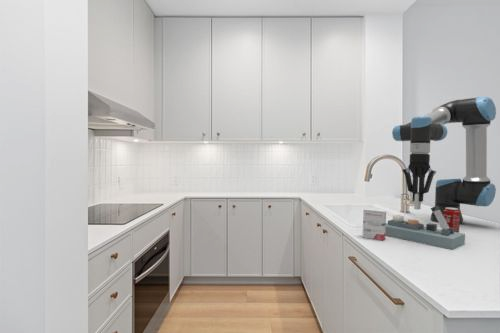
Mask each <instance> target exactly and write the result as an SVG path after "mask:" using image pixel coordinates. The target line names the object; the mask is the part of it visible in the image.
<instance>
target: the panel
mask: <svg viewBox="0 0 500 333" xmlns="http://www.w3.org/2000/svg"><path fill="white" fill-rule="evenodd" d="M407 221H408V220H404V222H403V223H399V222H393V219H390V220H387V222H386V232H385V237H392V238H396V239H400V240H405V241H410V242H415V243H420V244H422V245H424V244H425V245H429V246H434V247H438V248H443V249H448V250H454V249H456V248H458V247H461V246H462V245H465V243H466V242H465V240H466V239H465V238H466V233H462V232H459V233H458V232H454V228H449V229H451V230H452V232H451V233H449V230H448V229H447V230H445V229H442V228H441V229H440V228H437V230H436V231H430V230H426V226H425V224H424V223H420V222H419V225H417V226H416V225H410V224H407Z"/></svg>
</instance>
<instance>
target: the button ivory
mask: <svg viewBox="0 0 500 333" xmlns="http://www.w3.org/2000/svg"><path fill="white" fill-rule="evenodd" d="M404 218H405V216H404V215H401V214H400V215H398V214H396V215H395V214H394V215H392V220H393V222H399V223H403V222H404V221H405V220H404Z"/></svg>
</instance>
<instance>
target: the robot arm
mask: <svg viewBox="0 0 500 333" xmlns="http://www.w3.org/2000/svg"><path fill="white" fill-rule="evenodd" d="M496 115H497V109H496V105H495V103H494V100H493V99H492V98H490V97H488V96H477V97H471V98H464V99H455V100H451V101H449V102H445V103H444V104H441V105H439V106H437V107H435V108H434V109H433V110H432V111H431V112H429V113H427V114H424V115H422V116H421V115H419V116H413V117H412V118H411V120H410V122H408V123H406V124H399V125H395V126H394V127H393V128H392V132H391V133H392V134H391V135H392V138H393V140H394V141H396V142H410V145H409V146H410V147H409V153H410V154H409V165H408V167H406V168H404V169H402V172H403V174H404V177H405V181H406V186H407V191H408V192H409V193H412V201H413V203H414V204H413V206H414V207H413V209H414V210H421V208H422V206H421V204H422V202H423V201H424V195H425V194H427V193H429V191H430V188H431V185H432V182H433V180H434V176H435V175H436V173H437V171H436V170H434V169H433V168H431V165H430V162H431V161H430V160H431V159H430V158H431V155H430V154H429V153H431V141H434V142H439V141H442V140H444V139H445V138H446V137H447V136H448V128H447V126H445V125H447V124H452V123H453V124H454V123H455V124H456V123H457V124H458V123H461V124H462V126H461V127H463V128H464V129H465V177H463V178H462V179H461V178H448V179H437V181H436V182H435V188H434V189H435V192H434V193H435V195H434V196H435V198H434V207H435V206H439V208H440V211H441V213H442V215H443V211H444V210H445V208H446V207H450V208H457V209H458V210H459V212H460V222H459V225H460V224H463V223H464V217H463V214H462V211H461V204H462V205H469V206H475V207H485V208H486V207H489V206H490V205H492V203H493V201H494V199H495V196H496V191H497V190H496V189H497V188H496V186H495V184H494V183H492V182H491V178H490V177H488V175H487V173H488V172H487V170H488V168H487V167H488V166H487V165H488V164H487V163H488V161H487V154H488V152H487V148H488V147H487V145H488V144H487V143H488V142H487V141H488V139H487V138H488V137H487V135H488V134H487V133H488V131H487V128H488V127H489V126H490V125H491V122H492V121H494V120H495V119H496ZM411 174H412V176H411ZM427 174H428V175H427ZM426 175H427V178H426ZM425 178H426V180H425ZM430 220H431V221H433V222H436V223H439V222H438V220H437V218H436V216H435V214H434V212H432V211H431V215H430Z"/></svg>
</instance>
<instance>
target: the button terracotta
mask: <svg viewBox="0 0 500 333" xmlns="http://www.w3.org/2000/svg"><path fill="white" fill-rule="evenodd" d="M406 221H407V224H410V225H416V226H417V225H419V223H420V221H419V220H416V219H407V220H406Z"/></svg>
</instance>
